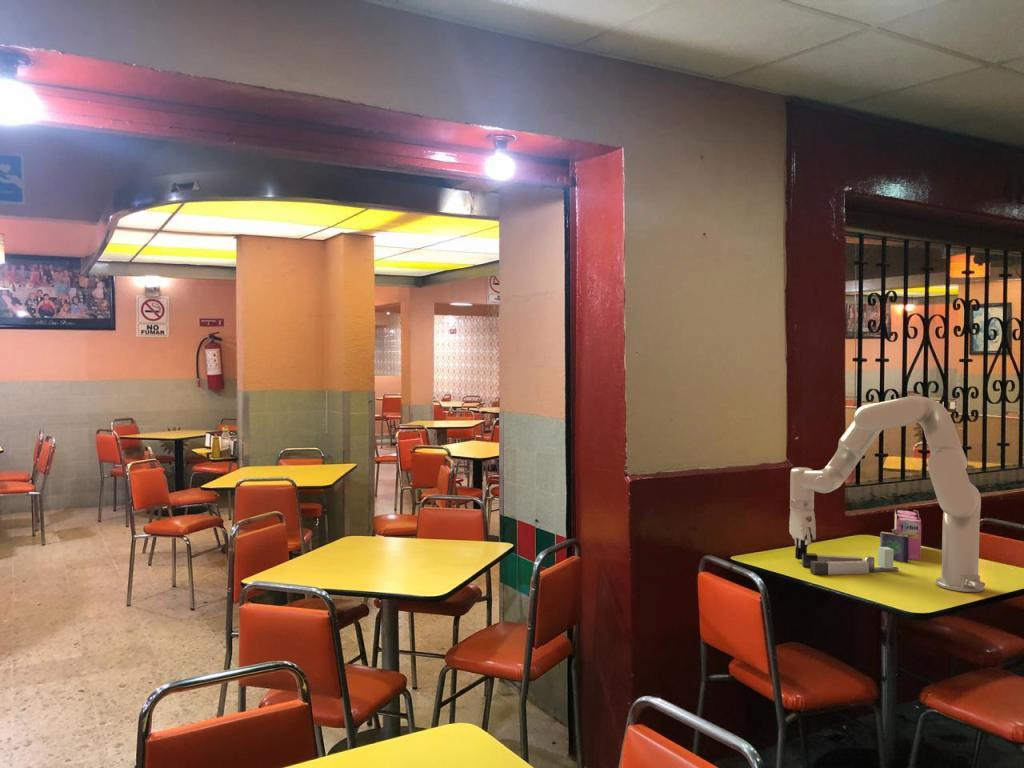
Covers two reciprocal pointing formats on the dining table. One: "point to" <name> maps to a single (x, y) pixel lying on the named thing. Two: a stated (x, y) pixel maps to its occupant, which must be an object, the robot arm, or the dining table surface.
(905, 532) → the gum box
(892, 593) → the dining table surface
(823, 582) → the dining table surface
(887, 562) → the white upright block
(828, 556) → the tong leg
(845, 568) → the base
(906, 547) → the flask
